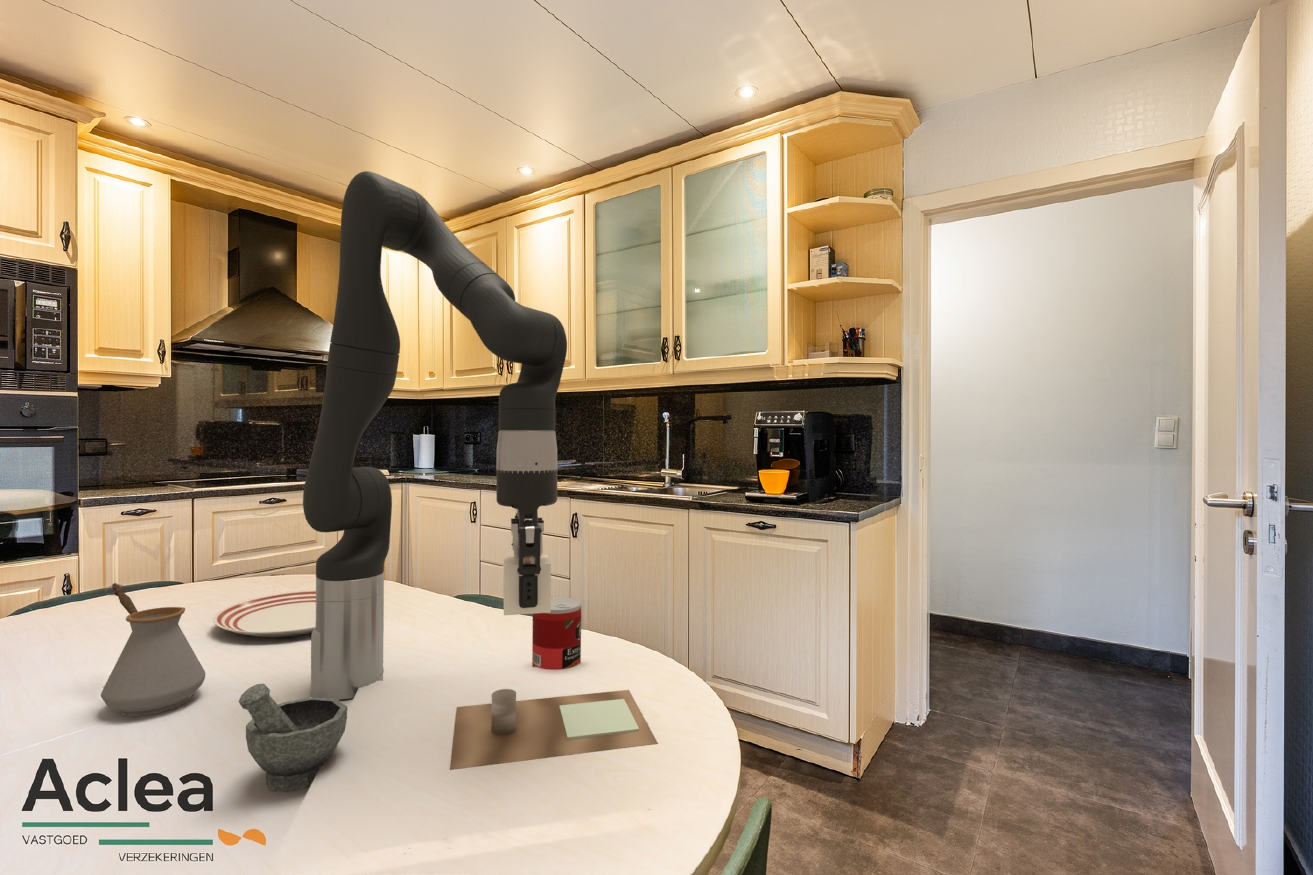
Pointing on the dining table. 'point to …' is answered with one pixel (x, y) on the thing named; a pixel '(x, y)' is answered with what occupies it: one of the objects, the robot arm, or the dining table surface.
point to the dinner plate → (271, 615)
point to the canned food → (557, 635)
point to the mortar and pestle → (291, 736)
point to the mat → (597, 719)
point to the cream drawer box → (513, 587)
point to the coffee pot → (152, 663)
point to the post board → (533, 730)
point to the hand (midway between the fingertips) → (526, 599)
